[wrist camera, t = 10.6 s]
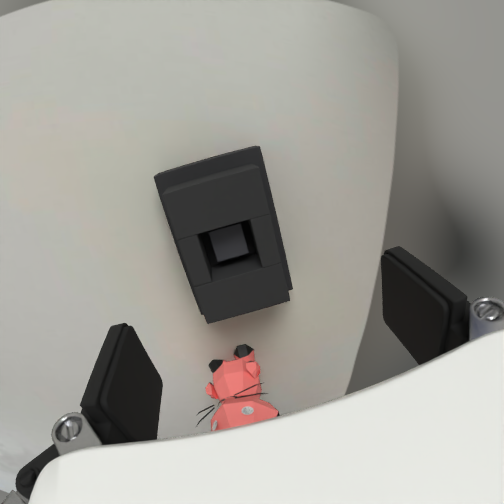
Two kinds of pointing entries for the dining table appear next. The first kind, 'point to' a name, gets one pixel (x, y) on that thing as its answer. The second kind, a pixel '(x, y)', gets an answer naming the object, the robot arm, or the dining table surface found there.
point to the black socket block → (219, 215)
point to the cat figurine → (238, 391)
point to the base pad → (216, 168)
